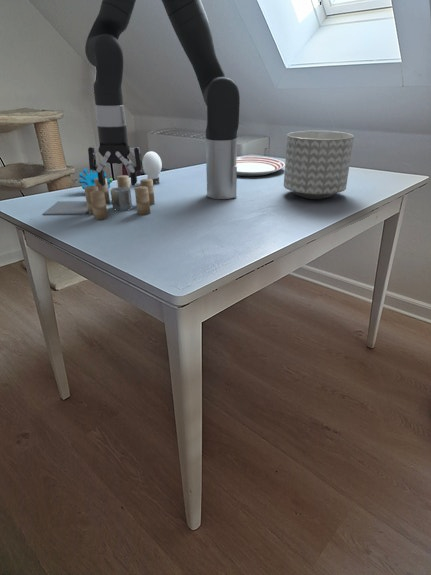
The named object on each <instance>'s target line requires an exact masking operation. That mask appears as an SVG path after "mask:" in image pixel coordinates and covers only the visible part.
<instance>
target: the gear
mask: <svg viewBox="0 0 431 575" xmlns="http://www.w3.org/2000/svg"><path fill="white" fill-rule="evenodd" d="M84 174H85V176H84ZM104 175H105V178H107V177H108V175H107V174H106V172H104ZM78 177H79V179H78V184H82V185H81V188H82V189H83V190H84V188H85V187H88V186H95V181H94V179H96V178H98V173H97V171H95V170H91V169H90V168H89V173H88V168H83V169H82V172H80V173H79V174H78ZM113 180H114V179H113V178H112V177H110V178H107V184H108V190H109V189H110V187H111V185H110V184H111V183H113Z"/></svg>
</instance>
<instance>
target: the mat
mask: <svg viewBox="0 0 431 575" xmlns="http://www.w3.org/2000/svg"><path fill="white" fill-rule="evenodd" d="M87 214H89V213H88V207H87V201H86V200H82V201H81V200H76V201H75V200H74V201H73V200H71V201H70V200H65V201H64V200H62V201H61V200H60V201H57V202H55V203H54V204H53V205H51V206H50V207H48V209H46V210H45V211H44V212H42V215H43V216H51V215H52V216H63V215H64V216H71V215H73V216H76V215H78V216H79V215H80V216H81V215H85V216H86V215H87Z"/></svg>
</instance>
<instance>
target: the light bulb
mask: <svg viewBox="0 0 431 575" xmlns="http://www.w3.org/2000/svg"><path fill="white" fill-rule="evenodd" d="M162 163H163V162H162V159H161V157H160V155H159V154H158V153H157V152H155V151H150V150H149V151H148V152H146V153H145V154H144V155H143V157H142V165H143V167H142V169H143V170H142V171H143V172H144V173H145V174H146V175H147V178H146V179H152V180H153V186H155V185H159V184H160V177H159V174H161V171H162V167H163V165H162Z"/></svg>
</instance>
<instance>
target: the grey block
mask: <svg viewBox="0 0 431 575" xmlns="http://www.w3.org/2000/svg"><path fill="white" fill-rule="evenodd" d="M130 191H131V187H130V188H127V187H118V186H117V187H112V188H111V189H110V197H111V204H112V210H113V209H116V210H115V211H118V210H120V211H119V212H122V211H121V210H124V211H128V209H130V210H131V209H132V208H131V207H133V201H132V193H131V192H132V191H131V192H130Z"/></svg>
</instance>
